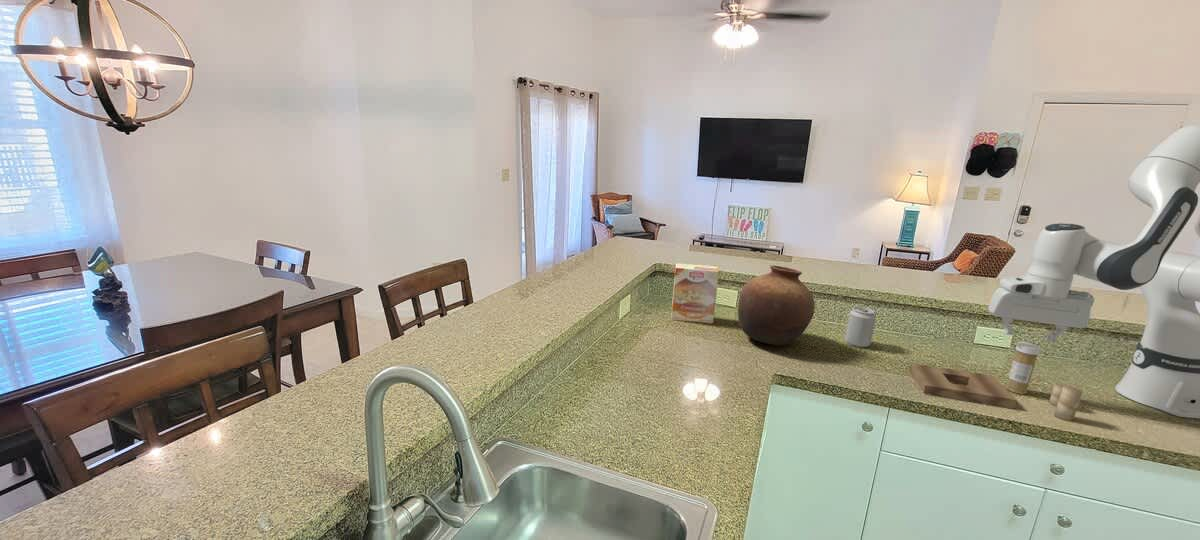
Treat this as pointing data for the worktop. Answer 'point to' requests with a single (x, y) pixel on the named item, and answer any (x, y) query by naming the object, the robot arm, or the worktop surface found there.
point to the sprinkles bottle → (1022, 367)
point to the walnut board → (976, 390)
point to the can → (860, 327)
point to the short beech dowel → (1056, 394)
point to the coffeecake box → (694, 293)
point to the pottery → (775, 307)
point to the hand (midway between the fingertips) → (1029, 337)
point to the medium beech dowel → (1068, 403)
